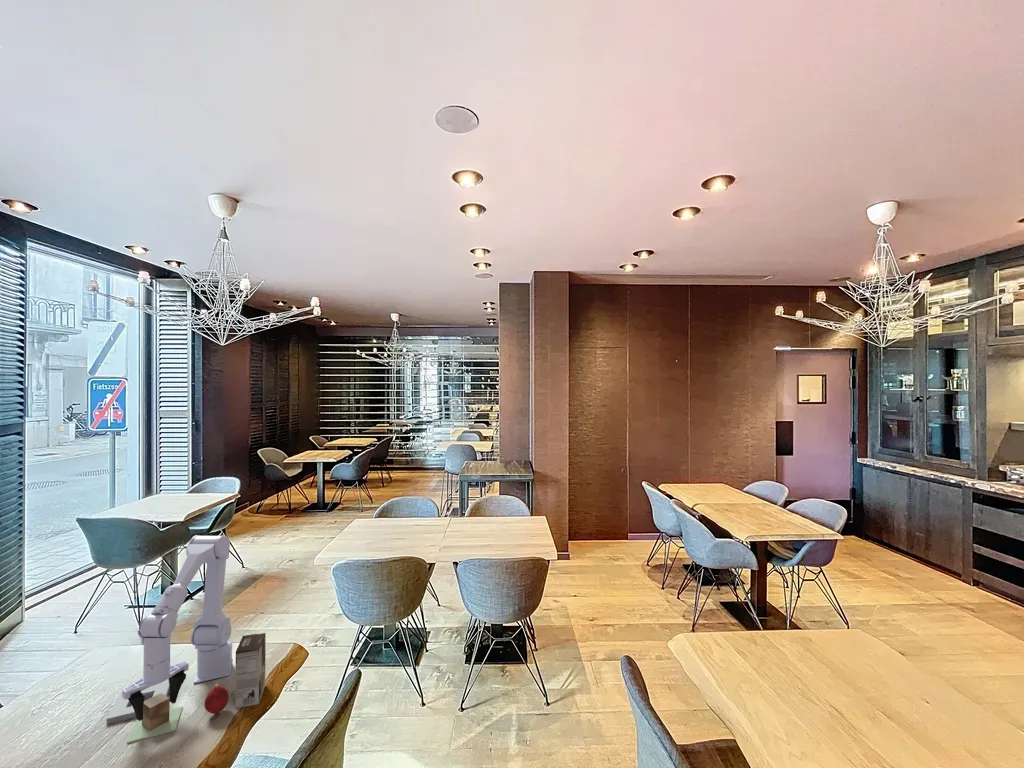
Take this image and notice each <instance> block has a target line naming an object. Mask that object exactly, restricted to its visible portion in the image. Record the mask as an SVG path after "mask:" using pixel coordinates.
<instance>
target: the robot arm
mask: <svg viewBox="0 0 1024 768" xmlns="http://www.w3.org/2000/svg"><path fill="white" fill-rule="evenodd" d="M230 547H231V540H230V538H228V536H227V535H223V534H222V535H199V534H196V535H194V536H192V537H191V539H190V540H189V541H188V543H187V546H186V548H185V553H186V558H185V559H184V562H183V563H182V566H181V568H180V571H179V572H178V574H177V576H176V578H175V580H174V582H173V584H172V585H169V586H168V587H166V588H165V590H164V591H163V593H162V595H161V596H160V598H159V600H158V602H157V603H156V605H155V607H154V608H153V610H152V612H151V613H149V614H148V615H146V616H144V617H143V618H142V620H141V622H140V623H139V626H138V630H137V636H138V637H139V638H140V640H141V641H140V644H142V646H143V677H142V678H140V679H138V680H137V681H135V682H134V683H132V684H131V685H129V686H127V687H125V688H123V689H122V691H121V692H122V697H123V698H124V699H125V700H126V699H128V700H129V701H130V705H131V706H133V709H134V711H135V715H136V717H135V718H136V721H137V720H139V721H141V720H143V705H144V701H145V699H146V698H145V696H143V695H142V693H141V691H142V690H144V689H146V688H149V687H151V686H154V685H157V684H161V683H165V682H167V680H168V682H169V693H168V697H169V698H170V704H173V705H174V704H177V700H178V695H179V693H180V689H181V688H182V685H183V684H184V682H185V680H186V679H187V673H186V672H187V671H189V662H187V661H186V660H185V661H183V662H180V663H177V664H174V665H171V634H172V633H173V632H174V630H175V628H176V625H177V620H178V617H179V614H178V613H179V611H180V609H181V607H182V605H183V603H184V602H185V600H186V598H187V596H188V589H187V588H188V587H189V585H190V584H191V582H192V581H193V579H194V577H195V576H196V575H197V573H198V571H199V570H200V568H201V567H202V566H203V565H204V564H206V571H205V572H206V573H205V582H204V583H205V584H204V593H203V594H204V595H203V605H202V606H203V607H202V615H201V616H199V617H198V618H197V619H196V620H194V623H193V628H192V631H191V633H190V637H189V639H190V643H191V645H192V646H194V649H195V650H197V653H196V654H197V658H196V659H197V661H196V662H197V665H196V674H195V676H194V680H193V683H194V684H198V683H202V682H207V681H211V680H215V679H219V678H220V679H221V678H224V677H228V676H230V675H231V671H232V667H233V664H234V659H233V641H232V640H230V638H231V634H232V626H231V617H230V616H229V615H228V614H226V613H225V612H224V611H223V605H224V603H223V601H224V593H225V591H224V590H225V581H226V580H225V579H226V578H225V577H226V567H227V566H226V565H227V560H228V559H229V558H230V549H231V548H230Z"/></svg>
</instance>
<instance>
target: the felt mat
mask: <svg viewBox="0 0 1024 768" xmlns="http://www.w3.org/2000/svg"><path fill="white" fill-rule="evenodd" d="M182 710H183V706H178V707H174V708H170V710H169V721H168V722H166V723H164V724H162V725H160V726H158V727H157V728H155V729H153V730H151V731H149V730H148V729H146V728H145V727H144V726H143V725H142V720H141V721H139V720H137V719H136V722H135V724H134V726H133V728H132V731H131V733H130V735H129V737H128V739H127V741H126V744H131V743H134V742H139V741H143V740H146V739H150V738H153V737H154V738H155V737H157V736H161V735H164V734H169V733H173V732H176V729H177V726H178V723H179V719H180V718H181V717H180V716H181V714H182Z"/></svg>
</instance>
